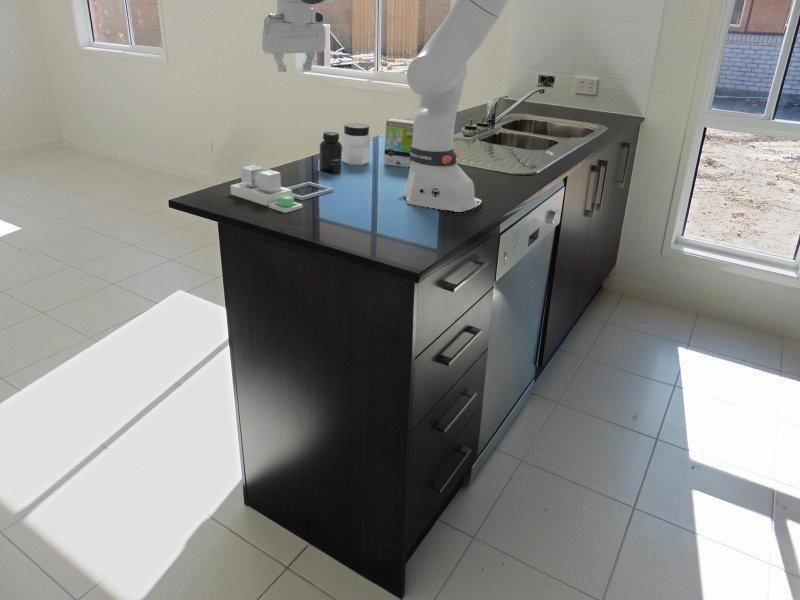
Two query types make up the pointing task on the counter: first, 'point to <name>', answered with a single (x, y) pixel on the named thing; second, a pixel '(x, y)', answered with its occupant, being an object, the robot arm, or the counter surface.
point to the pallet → (258, 194)
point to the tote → (325, 190)
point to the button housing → (285, 210)
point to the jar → (356, 144)
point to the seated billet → (250, 176)
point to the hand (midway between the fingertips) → (294, 71)
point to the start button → (285, 201)
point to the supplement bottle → (330, 153)
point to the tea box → (398, 141)
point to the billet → (269, 181)
